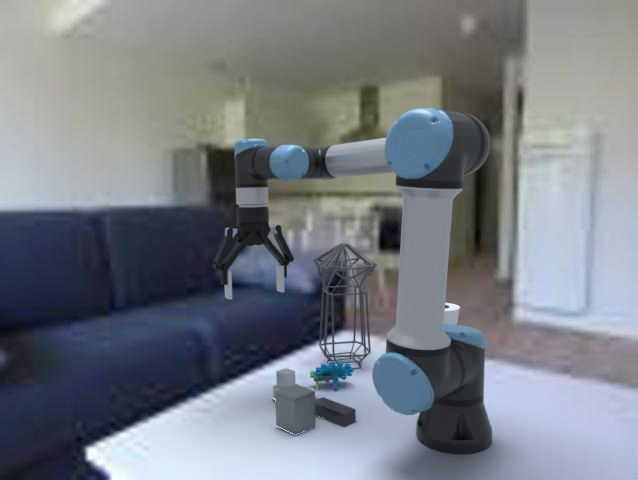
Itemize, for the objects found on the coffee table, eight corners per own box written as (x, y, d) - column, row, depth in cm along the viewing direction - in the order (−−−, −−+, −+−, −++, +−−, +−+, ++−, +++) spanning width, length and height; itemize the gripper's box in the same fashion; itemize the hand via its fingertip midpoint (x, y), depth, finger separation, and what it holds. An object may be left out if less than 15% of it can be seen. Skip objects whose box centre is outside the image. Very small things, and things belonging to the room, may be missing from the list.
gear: (354, 373, 150) (350, 356, 142) (357, 395, 146) (353, 378, 139) (313, 379, 151) (307, 362, 143) (314, 400, 147) (308, 384, 140)
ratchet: (359, 419, 126) (359, 388, 125) (339, 428, 121) (339, 397, 121) (287, 392, 142) (286, 365, 142) (267, 399, 138) (266, 371, 137)
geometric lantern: (313, 358, 168) (311, 241, 164) (364, 355, 171) (364, 239, 167) (323, 377, 153) (321, 247, 149) (379, 372, 156) (379, 245, 152)
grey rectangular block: (315, 426, 123) (315, 390, 122) (295, 436, 118) (294, 398, 117) (296, 418, 127) (295, 384, 126) (276, 427, 122) (275, 391, 122)
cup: (417, 375, 153) (417, 309, 151) (421, 363, 163) (422, 301, 161) (457, 379, 150) (458, 312, 148) (460, 366, 160) (461, 303, 158)
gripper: (291, 203, 143) (293, 286, 146) (195, 207, 131) (199, 298, 133) (306, 204, 137) (308, 291, 139) (207, 208, 124) (211, 304, 127)
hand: (255, 295), depth 136 cm, fingers open, 13 cm apart
